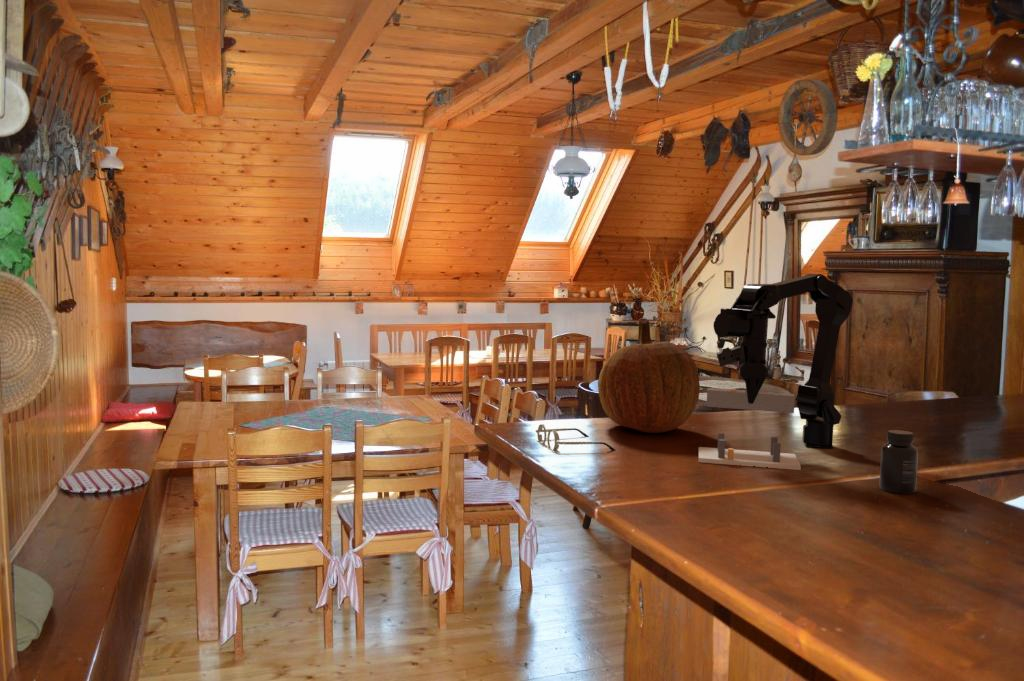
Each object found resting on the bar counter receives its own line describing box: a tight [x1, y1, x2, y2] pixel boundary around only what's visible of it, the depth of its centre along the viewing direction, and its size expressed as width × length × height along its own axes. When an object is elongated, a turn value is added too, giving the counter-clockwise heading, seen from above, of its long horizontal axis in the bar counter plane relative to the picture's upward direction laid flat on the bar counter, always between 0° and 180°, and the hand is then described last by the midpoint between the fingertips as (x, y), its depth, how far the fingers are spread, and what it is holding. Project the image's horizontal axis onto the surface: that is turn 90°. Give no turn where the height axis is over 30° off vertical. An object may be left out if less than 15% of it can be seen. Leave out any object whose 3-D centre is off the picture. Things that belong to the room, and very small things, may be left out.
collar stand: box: [698, 432, 802, 471], centre depth 192 cm, size 22×12×5 cm, turn 77°
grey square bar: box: [705, 387, 796, 414], centre depth 199 cm, size 20×4×4 cm, turn 75°
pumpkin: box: [597, 317, 701, 434], centre depth 222 cm, size 27×27×30 cm
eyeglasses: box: [535, 423, 616, 451], centre depth 204 cm, size 17×15×5 cm
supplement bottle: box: [878, 429, 919, 495], centre depth 169 cm, size 7×7×12 cm
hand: (750, 402), depth 199 cm, fingers closed on grey square bar, 4 cm apart
